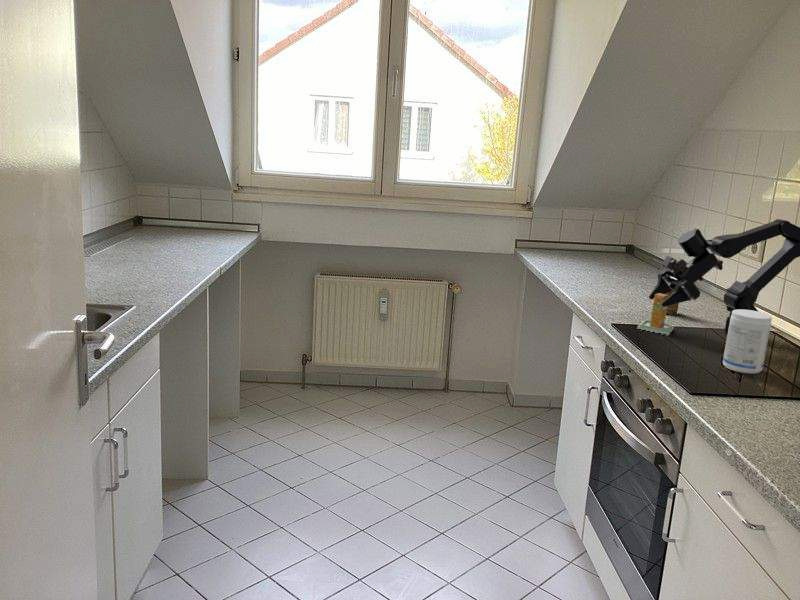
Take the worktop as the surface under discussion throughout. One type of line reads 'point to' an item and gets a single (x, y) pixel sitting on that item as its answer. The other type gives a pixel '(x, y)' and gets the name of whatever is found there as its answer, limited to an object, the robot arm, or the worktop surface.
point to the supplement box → (658, 311)
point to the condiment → (673, 307)
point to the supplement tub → (747, 341)
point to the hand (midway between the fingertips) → (655, 301)
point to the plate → (646, 326)
